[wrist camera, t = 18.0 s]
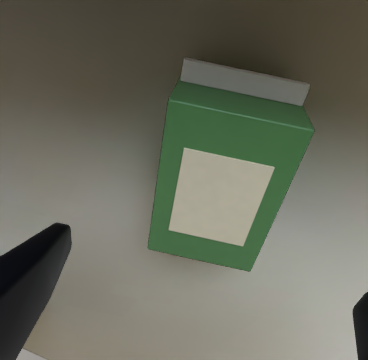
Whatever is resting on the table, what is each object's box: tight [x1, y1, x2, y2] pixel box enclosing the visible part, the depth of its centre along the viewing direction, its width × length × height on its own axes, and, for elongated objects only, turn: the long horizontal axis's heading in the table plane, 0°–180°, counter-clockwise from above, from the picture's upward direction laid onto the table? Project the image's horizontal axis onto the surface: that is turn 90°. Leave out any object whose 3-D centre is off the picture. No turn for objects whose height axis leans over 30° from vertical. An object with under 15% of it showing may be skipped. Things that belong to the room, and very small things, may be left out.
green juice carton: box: [148, 57, 315, 271], centre depth 14 cm, size 9×5×4 cm, turn 170°
